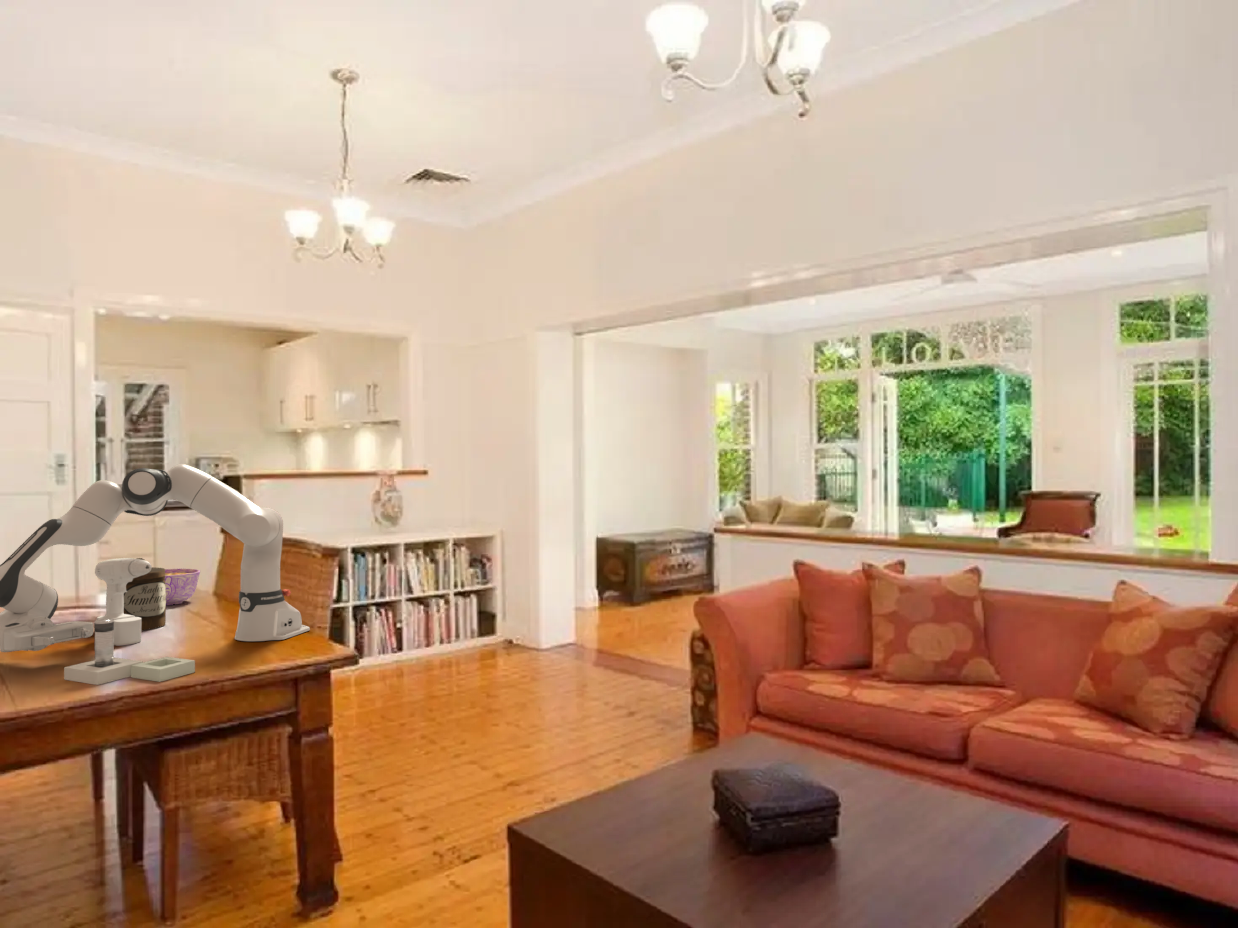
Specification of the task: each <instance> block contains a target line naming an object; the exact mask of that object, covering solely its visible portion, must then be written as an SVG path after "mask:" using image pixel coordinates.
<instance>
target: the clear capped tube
mask: <svg viewBox="0 0 1238 928" xmlns="http://www.w3.org/2000/svg"><path fill="white" fill-rule="evenodd" d="M93 627H94V631H93V632H94V660H95V667H98V668H103V667H107V666H112V665H114V657H115V655H114V653H115V652H114V650H115V649H114V647H115V645H114V619H99V620H97V619H96V620H94V623H93Z"/></svg>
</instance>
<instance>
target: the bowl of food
mask: <svg viewBox="0 0 1238 928" xmlns="http://www.w3.org/2000/svg"><path fill="white" fill-rule="evenodd" d="M164 569H165V593H166V606H172V605H173V604H175V605H180V604H183V602H185V601H186V600H188V599H190V598H191V597H192V596H193V595H194V594H195V592H196V590H197V585H198V581H199V577H200V573H201V570H200V569H196V568H164ZM173 606H174V605H173Z"/></svg>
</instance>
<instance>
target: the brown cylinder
mask: <svg viewBox="0 0 1238 928" xmlns="http://www.w3.org/2000/svg"><path fill="white" fill-rule="evenodd" d="M135 559H140V560H145V559H144V558H143V557H139V558H138V557H137V558H135ZM165 569H166V568H163V567H152V568H151V571H150V572H149V573H147V574H145V575H142V576H139V577H136V578H133V580H132V582H128V583H127V584H126V591H127V592H125V593H124V614H128V615H133V616H135V617H140V618H141V631H148V630H149V631H150V630H154V629H158V628H159V629H160V628H162V627H164V626H165V625H166V623H167V622H166V620H167V619H166V618H167V617H166V616H167V614H166V612H167V605H166V593H165Z"/></svg>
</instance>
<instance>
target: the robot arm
mask: <svg viewBox="0 0 1238 928" xmlns="http://www.w3.org/2000/svg"><path fill="white" fill-rule="evenodd" d="M172 500H173V501H177V502H179V503H182V504H184V505H185V506H187V507H188V508H190V509H191V510H193V511H195V512H197V513H199V514H200V515H202V516H204V517H205V518H207V519H209V520H210V521H212V522H213V523H215V524H217V525H218V526H220V528H222V529H223V530H224V531H226V532H227V533H229V534H230V535H232V536H233V537H234V538H235V539H237V540H239V541H240V542H242V543H243V548H242V550H243V551H242V557H241V563H240V591H238V604H239V610H238V620H237V627H236V631H235V634H234V635H235V636H234V640H237V641H239V642H240V641H241V642H265V641H281V640H285V639H289V638H293V637H295V636H298V635H300V634H303V633H305V632H308V631H310V630H311V629H310V626H307V625H305V624H303V621H302V614H301V612H300V611H299V610H298V609H297V608H295V607H294V606H292V605H291V604H289V602H287V601H286V599H285V596H286V597H290V596H291V593H292V590H290V589H286V588H285V589H284V588H283V589H282V588H281V559H282V558H281V557H282V549H283V537H284V536H283V534H284V520H283V517H282V516H281V514H280V513H279V512H278V511H277V510H275V509H273V508H272V507H267V506H266V507H265V506H264V507H263V506H262V507H260V506H258V505H256V504H255V503H253V502H252V501H251V500H250V499H248V498H246V497H245V496H244V495H243V494H241V493H240V492H239V491H238V490H237V489H234V488H232V486H229V485H227V483H224V482H222V481H221V480H219V479H217V478H216V477H215V476H212V475H211V474H209V473H207V472H205V471H203V470H201V469H198V468H196V467H194V466H191V465H189V464H185V463H179V464H176V465H173V466H172V467H171V468H170V469H168V471H166V470H164V469H158V468H157V469H153V468H146V467H142V468H141V467H139V468H135V469H133V470H131V471H129V472H128V473H127V474H126V475H125V476H124V478H123V480H122V483H116V482H114V481H111V480H106V479H105V480H104V479H101V480H97V481H95V482H94V483H92V484H91V485H90V486H89V487H88V488H87V489H86V490H84V492H82V493H81V495H80V496H79V497H78V499H76V501H75V503H74V504H73V505H72V506H71V508H70V509H69V510H68V511H67V512H66V513H64V514H63V515H62V516H60V517H58V518H52V519H48V520H47V521H46V522H44V523H43V524H41V526H39V527H38V528H37V529H35V530H34V532H33V533H31V535H29V537H28V538H26V539H25V541H23V542H22V543H21V545H19V547H17V548H16V549H15V550H14V552H12V553H11V554H10V555H9V556H8V557H7V558H6V559H5V560H4V561H3V562H2V563H1V564H0V608H2V609H4V610H2V611H1V612H0V652H1V653H12V652H19V651H27V652H28V651H33V652H38V651H41V650H43V649H46V648H47V647H49V646H52V645H54V644H58V643H63V642H68V641H72V640H78V639H87V638H90V637H91V636H93V635H94V632H95V631H94V623H93V622H92V621H81V620H79V621H77V620H76V621H67V622H66V621H65V622H61V623H56V624H55V623H54V622H53V620H52V617H53V616H54V614H55V612H56V611H57V608H58V604H59V595H58V592H57V590H56V589H55V588H53V587H52V586H49V585H47V584H45V583H44V582H41V581H39V580H37V579H34V578H33V577H31V576H29V575H26V574H25V572H26V570H27V569H29V568H30V566H31V565H32V564H33V563H35V561H37V559H38V558H39V557H40V556H42V554H44V552H46V550H48V548H50V547H53V546H59V545H64V546H65V545H68V546H76V547H85V546H91V545H93V544H97V543H98V542H100V541H101V540H102V539H103V537H105V536H106V534H107V533H108V532H109V530H110V528H111V527H112V526H113V524H114V522H116V519H117V518H119V516H120V515H121V514H122V513H123V512H124V513H125V514H126V513H127V514H133V515H136V516H137V515H138V516H141V517H142V516H143V517H144V516H145V517H150V516H151V517H152V516H156V515H157V514H158V515H159V513H161V512H163V510H164V509H165V507H166V506H167V504H168V501H172Z"/></svg>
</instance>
